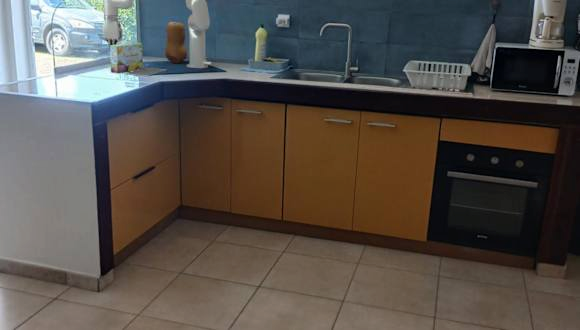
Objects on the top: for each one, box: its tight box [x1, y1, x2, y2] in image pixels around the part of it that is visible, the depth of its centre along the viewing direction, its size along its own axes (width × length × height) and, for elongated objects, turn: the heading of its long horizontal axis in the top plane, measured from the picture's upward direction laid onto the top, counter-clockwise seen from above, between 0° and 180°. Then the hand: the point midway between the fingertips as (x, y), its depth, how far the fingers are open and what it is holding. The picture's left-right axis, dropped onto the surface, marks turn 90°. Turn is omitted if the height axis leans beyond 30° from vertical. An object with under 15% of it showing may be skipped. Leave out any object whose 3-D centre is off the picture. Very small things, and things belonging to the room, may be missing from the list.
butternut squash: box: [164, 21, 188, 64], centre depth 371 cm, size 14×13×25 cm
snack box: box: [109, 42, 144, 74], centre depth 337 cm, size 21×6×15 cm, turn 154°
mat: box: [125, 67, 167, 77], centre depth 336 cm, size 14×24×1 cm, turn 166°
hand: (112, 51), depth 338 cm, fingers closed
